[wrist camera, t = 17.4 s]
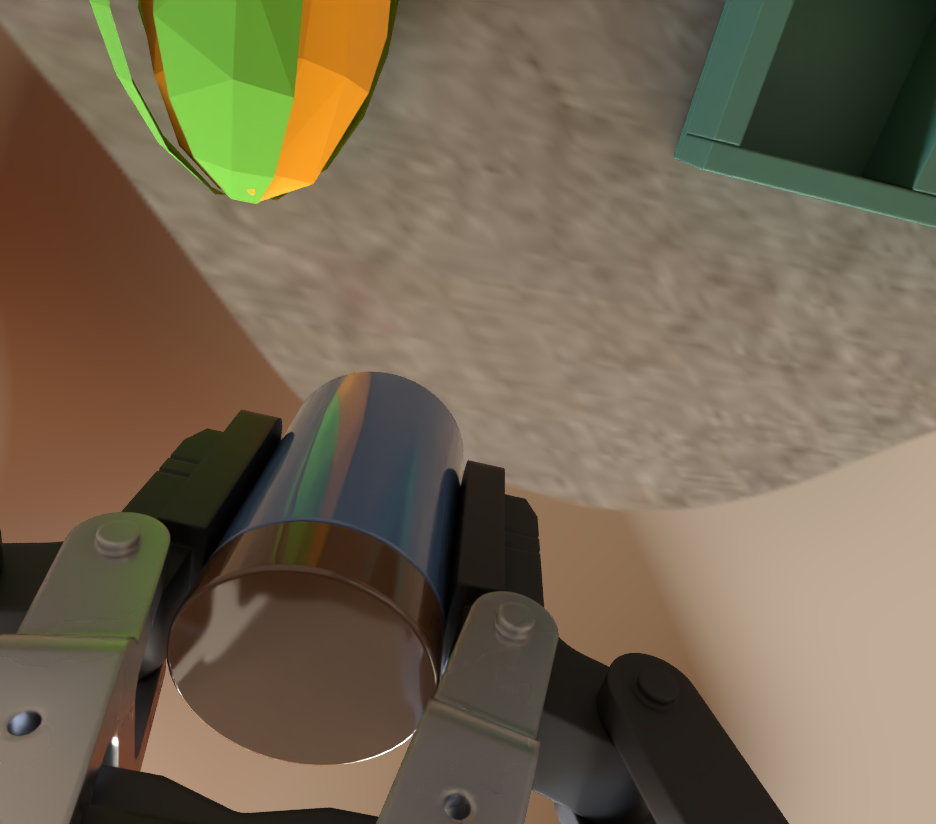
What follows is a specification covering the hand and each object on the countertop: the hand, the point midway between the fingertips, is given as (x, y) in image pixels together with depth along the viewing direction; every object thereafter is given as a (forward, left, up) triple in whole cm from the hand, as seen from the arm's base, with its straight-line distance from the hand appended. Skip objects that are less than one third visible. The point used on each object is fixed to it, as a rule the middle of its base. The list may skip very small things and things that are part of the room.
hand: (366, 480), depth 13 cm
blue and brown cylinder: (0, 0, -1) cm, 1 cm away
